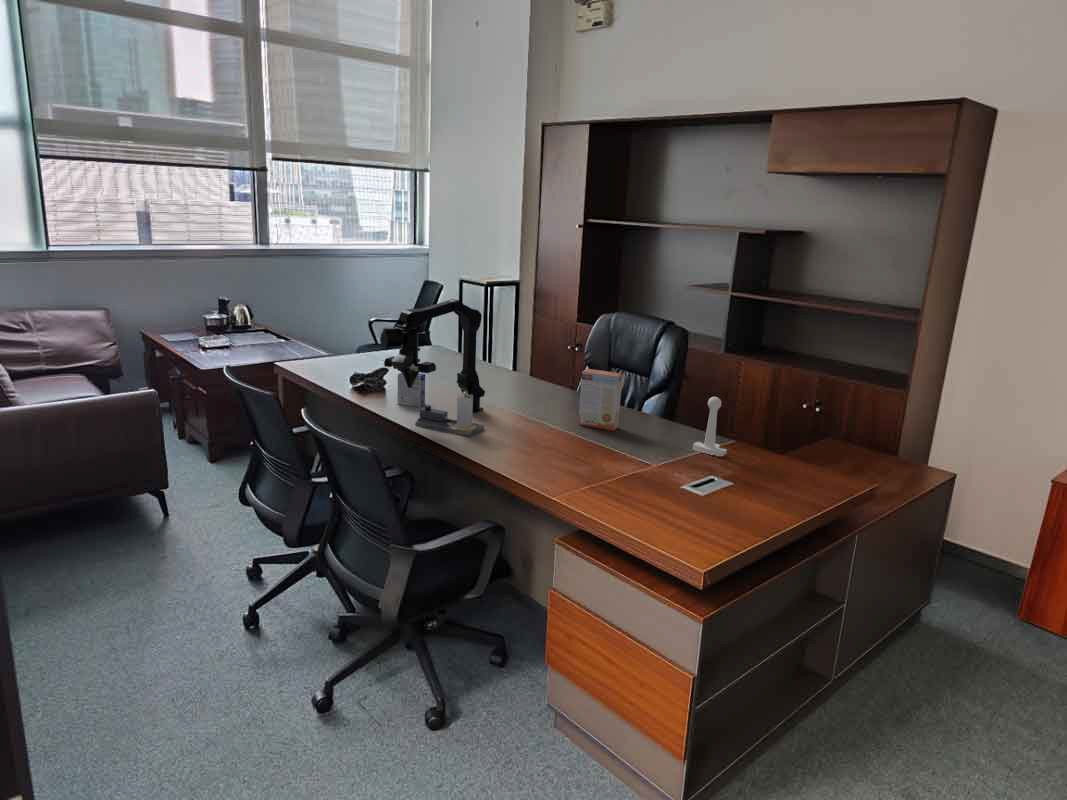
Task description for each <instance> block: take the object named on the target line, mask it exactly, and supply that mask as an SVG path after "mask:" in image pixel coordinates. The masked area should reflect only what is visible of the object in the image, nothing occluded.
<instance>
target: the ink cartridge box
mask: <svg viewBox="0 0 1067 800" xmlns="http://www.w3.org/2000/svg"><path fill="white" fill-rule="evenodd" d="M425 402H426V373H421V372H419V373H418V375H417V377H416V379H415V381H414V383H413V385H412V388H408V386H407V383H406V380H405V378H404V376H403V374H402V373H401V372H399V374H397V405H405V406H413V407H422V406H423V405H426V403H425Z"/></svg>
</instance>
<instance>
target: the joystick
mask: <svg viewBox="0 0 1067 800" xmlns="http://www.w3.org/2000/svg"><path fill="white" fill-rule="evenodd" d="M707 406H708V408H709V415H708V421H707V426H706V432H705V435H704V437H705V438H704V443H702V442H701V441H696V442H694V443H693V445H692V451H694V450H695V452H696V451H699V452H702V453H706V454H710V455H716V456H724V457H725V456H726V455H727V451H728V450H727V448H721V445H720V444H718V443H716V435H717V420H718V419H717V418H718V411H719V409H720V408H721V407H722V400H721V398H719V397H717V396H712V397H710V398H708V401H707ZM699 452H698V453H699ZM725 454H726V455H725Z"/></svg>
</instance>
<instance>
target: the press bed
mask: <svg viewBox="0 0 1067 800" xmlns="http://www.w3.org/2000/svg"><path fill="white" fill-rule="evenodd" d="M414 425H415V427H419V426H420V428H424V427H425V429H429V428H430V430H434V429H435V430H436V431H440V432H446V433H449V432H450V434H454V433H456V435H459V434H460V435H459V436H464V435H465V436H464V437H469V436H470V438H471V437H473V436H474V434H475V435H477V434H478V433H480V432H482V431H483V429H484V430H485V425H484V424H479V423H474V422H472V427H471V429H467V428H457V419H454V418H447V421H446V422H444V423H442V422H437V421H432V420H427V419H422V418H420V417H419V418H417V420H416V421H415V423H414ZM481 430H482V431H481Z"/></svg>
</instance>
